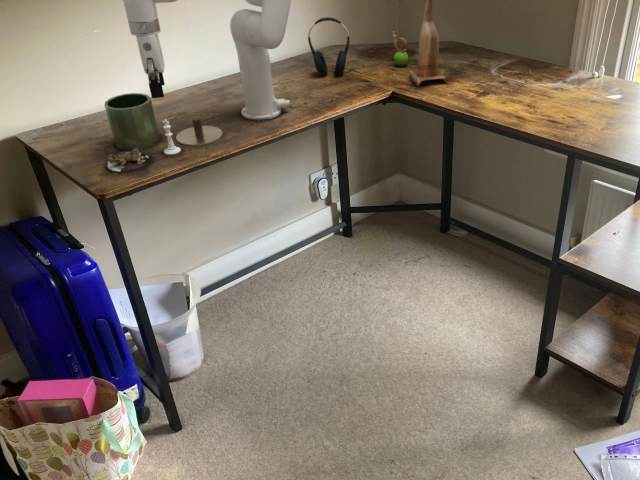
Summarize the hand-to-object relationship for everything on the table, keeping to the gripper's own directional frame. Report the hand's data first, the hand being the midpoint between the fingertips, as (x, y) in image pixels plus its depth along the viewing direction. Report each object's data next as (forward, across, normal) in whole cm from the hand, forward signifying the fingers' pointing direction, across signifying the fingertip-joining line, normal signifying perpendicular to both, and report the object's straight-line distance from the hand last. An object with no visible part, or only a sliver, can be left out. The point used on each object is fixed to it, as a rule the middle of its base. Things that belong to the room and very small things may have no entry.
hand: (158, 91), depth 178 cm
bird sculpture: (+16, +34, -89) cm, 97 cm away
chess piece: (+18, -2, -1) cm, 18 cm away
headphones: (+16, +50, -57) cm, 78 cm away
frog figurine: (+18, -6, +12) cm, 22 cm away
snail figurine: (+16, +53, -84) cm, 100 cm away
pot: (+17, +9, +10) cm, 22 cm away
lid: (+16, +6, -8) cm, 19 cm away
